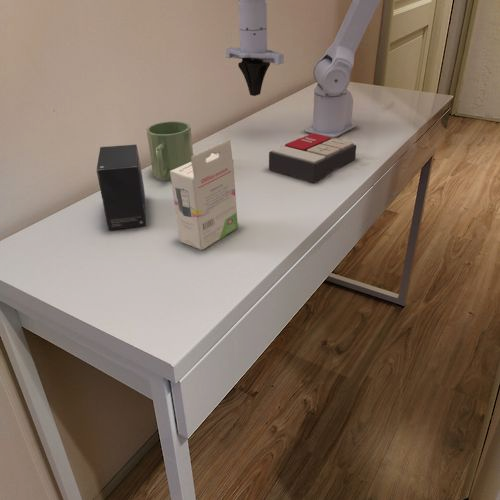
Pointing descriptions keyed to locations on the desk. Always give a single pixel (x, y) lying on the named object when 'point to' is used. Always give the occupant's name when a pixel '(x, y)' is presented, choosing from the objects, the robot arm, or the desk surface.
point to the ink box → (205, 196)
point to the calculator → (311, 156)
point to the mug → (169, 147)
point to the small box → (121, 186)
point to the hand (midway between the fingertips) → (255, 94)
